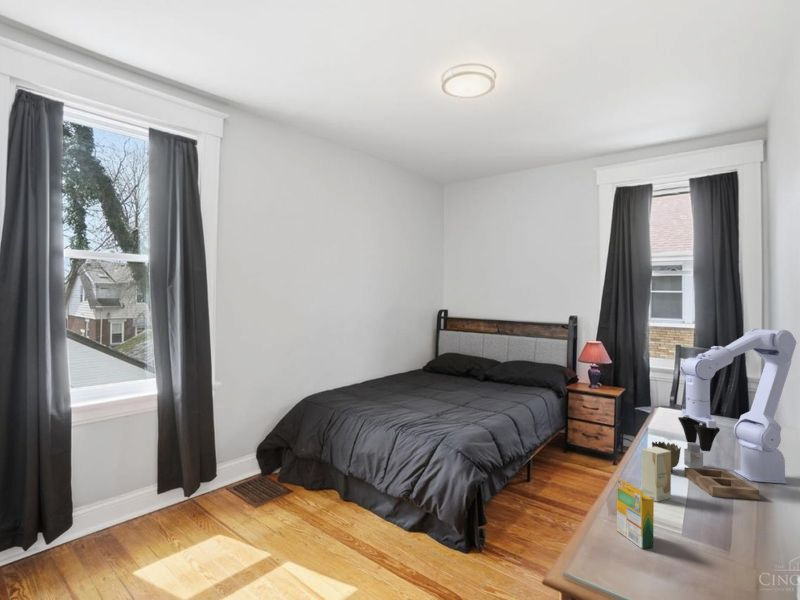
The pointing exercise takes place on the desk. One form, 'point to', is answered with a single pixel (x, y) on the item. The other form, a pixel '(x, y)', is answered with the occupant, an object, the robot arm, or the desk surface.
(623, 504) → the crayon box
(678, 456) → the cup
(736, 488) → the socket board
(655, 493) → the skincare box
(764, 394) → the robot arm
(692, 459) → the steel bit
